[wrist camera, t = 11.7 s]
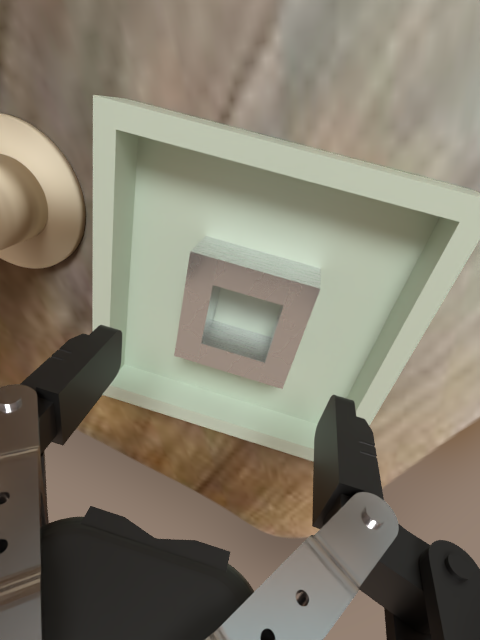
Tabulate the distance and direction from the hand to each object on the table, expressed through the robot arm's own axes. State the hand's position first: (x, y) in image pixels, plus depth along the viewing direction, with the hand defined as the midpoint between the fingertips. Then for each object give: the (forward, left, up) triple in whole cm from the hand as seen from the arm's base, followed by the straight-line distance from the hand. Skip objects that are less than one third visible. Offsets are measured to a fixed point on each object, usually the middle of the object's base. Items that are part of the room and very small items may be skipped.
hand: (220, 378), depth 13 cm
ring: (0, 0, -7) cm, 7 cm away
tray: (0, 0, -8) cm, 8 cm away
